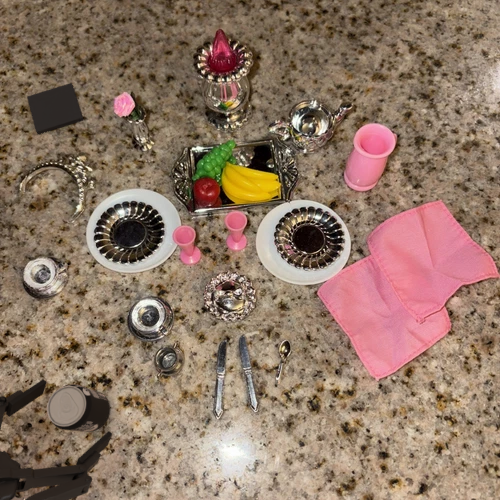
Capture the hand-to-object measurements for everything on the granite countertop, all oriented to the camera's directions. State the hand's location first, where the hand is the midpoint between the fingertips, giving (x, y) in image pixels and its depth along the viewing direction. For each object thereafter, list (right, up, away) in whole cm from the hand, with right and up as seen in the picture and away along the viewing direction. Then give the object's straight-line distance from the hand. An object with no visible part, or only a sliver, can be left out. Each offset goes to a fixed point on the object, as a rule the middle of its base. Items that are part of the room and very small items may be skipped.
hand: (75, 411), depth 76 cm
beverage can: (0, -2, +7) cm, 7 cm away
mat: (-15, +56, +30) cm, 65 cm away
